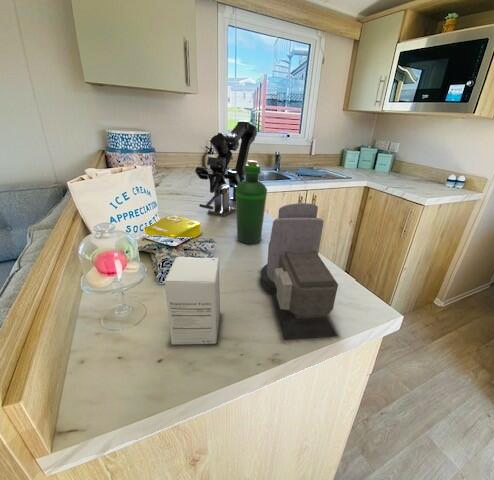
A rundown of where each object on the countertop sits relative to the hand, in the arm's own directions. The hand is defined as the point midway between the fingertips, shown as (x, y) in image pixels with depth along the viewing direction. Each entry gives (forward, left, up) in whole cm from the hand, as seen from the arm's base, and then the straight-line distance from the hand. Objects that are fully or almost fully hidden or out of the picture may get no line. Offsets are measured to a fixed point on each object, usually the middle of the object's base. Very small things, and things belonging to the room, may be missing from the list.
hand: (211, 192), depth 114 cm
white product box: (+58, +34, -11) cm, 68 cm away
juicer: (+37, +49, -11) cm, 63 cm away
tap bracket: (-9, 0, -11) cm, 14 cm away
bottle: (+12, +24, -11) cm, 29 cm away
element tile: (+23, -1, -11) cm, 26 cm away
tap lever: (-3, 0, -4) cm, 5 cm away
